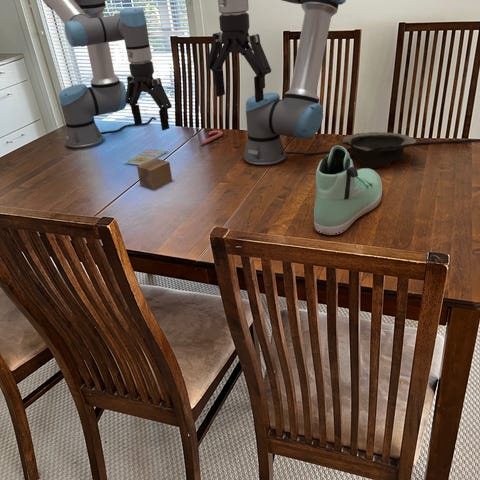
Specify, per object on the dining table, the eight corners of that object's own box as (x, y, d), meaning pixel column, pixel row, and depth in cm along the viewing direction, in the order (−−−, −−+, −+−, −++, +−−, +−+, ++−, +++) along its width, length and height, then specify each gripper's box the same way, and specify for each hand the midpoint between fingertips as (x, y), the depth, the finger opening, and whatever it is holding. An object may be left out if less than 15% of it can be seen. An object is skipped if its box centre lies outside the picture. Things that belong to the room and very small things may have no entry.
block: (140, 185, 163) (136, 166, 159) (158, 177, 168) (155, 158, 165) (154, 190, 159) (150, 170, 155) (172, 181, 164) (169, 161, 161)
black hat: (374, 178, 154) (374, 150, 149) (327, 160, 174) (326, 135, 170) (431, 159, 163) (433, 133, 158) (380, 144, 183) (380, 120, 179)
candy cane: (192, 143, 195) (191, 140, 194) (214, 132, 205) (214, 128, 204) (203, 146, 192) (203, 142, 191) (225, 134, 202) (225, 130, 201)
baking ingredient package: (124, 162, 180) (148, 148, 192) (124, 163, 181) (148, 150, 192) (143, 164, 177) (166, 151, 188) (143, 166, 177) (166, 152, 189)
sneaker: (389, 187, 148) (396, 123, 138) (356, 242, 123) (361, 168, 112) (346, 181, 154) (350, 119, 144) (306, 232, 129) (307, 161, 118)
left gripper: (106, 62, 158) (119, 125, 169) (158, 66, 144) (169, 135, 155) (124, 57, 163) (136, 119, 174) (176, 61, 149) (185, 128, 160)
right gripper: (187, 14, 125) (197, 96, 136) (265, 16, 111) (268, 107, 122) (207, 10, 130) (214, 90, 141) (283, 11, 116) (285, 99, 127)
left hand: (151, 126), depth 164 cm, fingers open, 13 cm apart
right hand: (239, 98), depth 131 cm, fingers open, 13 cm apart
